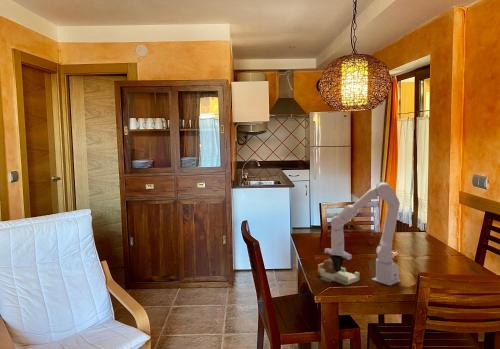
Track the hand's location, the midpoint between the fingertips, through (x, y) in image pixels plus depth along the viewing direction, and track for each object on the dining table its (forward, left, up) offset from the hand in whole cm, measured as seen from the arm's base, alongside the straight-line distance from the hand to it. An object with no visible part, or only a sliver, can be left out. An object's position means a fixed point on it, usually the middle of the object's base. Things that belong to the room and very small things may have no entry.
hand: (338, 271), depth 179 cm
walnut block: (+4, 0, -1) cm, 4 cm away
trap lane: (0, 0, -3) cm, 3 cm away
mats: (0, 0, -3) cm, 3 cm away
